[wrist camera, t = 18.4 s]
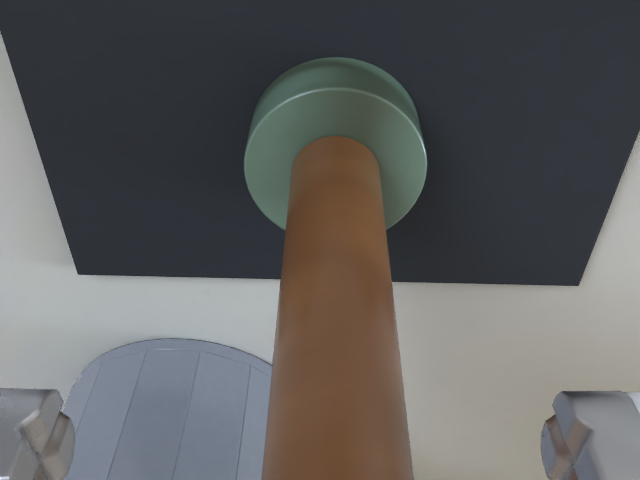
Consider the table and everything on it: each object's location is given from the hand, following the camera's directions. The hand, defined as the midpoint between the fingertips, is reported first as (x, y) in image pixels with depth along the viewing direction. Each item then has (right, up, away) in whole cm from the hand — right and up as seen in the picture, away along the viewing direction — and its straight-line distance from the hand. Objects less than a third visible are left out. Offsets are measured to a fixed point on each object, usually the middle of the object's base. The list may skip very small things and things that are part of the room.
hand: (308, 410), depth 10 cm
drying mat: (+1, +6, +8) cm, 10 cm away
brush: (+1, +6, +8) cm, 10 cm away
